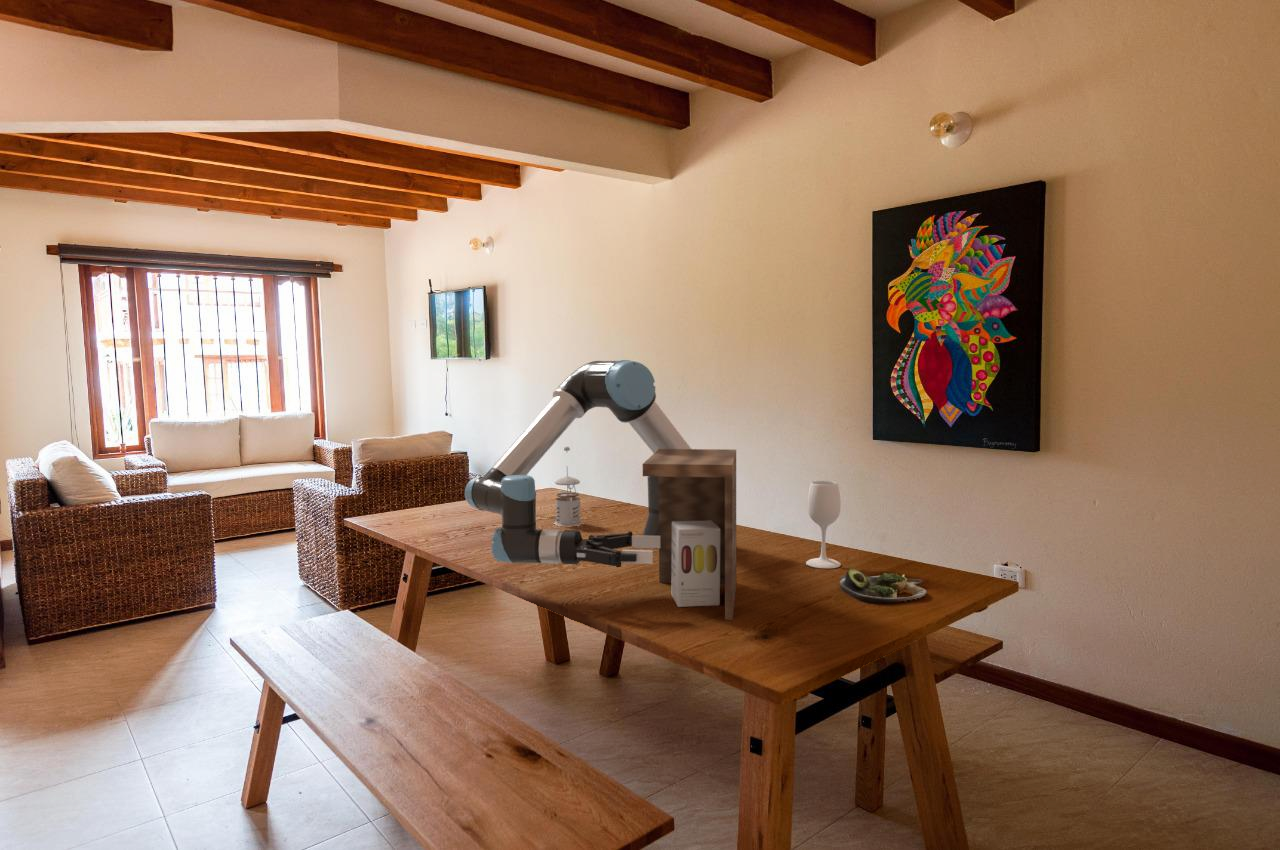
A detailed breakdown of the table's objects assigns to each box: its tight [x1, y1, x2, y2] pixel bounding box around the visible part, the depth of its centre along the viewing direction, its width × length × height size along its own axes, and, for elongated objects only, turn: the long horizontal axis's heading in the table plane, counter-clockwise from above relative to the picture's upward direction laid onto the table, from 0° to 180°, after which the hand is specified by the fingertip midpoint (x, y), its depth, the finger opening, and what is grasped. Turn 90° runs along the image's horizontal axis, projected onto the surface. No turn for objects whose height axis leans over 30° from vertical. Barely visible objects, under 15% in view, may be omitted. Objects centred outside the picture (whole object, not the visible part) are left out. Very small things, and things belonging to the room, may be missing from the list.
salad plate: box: [839, 568, 928, 604], centre depth 175 cm, size 19×18×5 cm
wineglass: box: [805, 480, 842, 570], centre depth 197 cm, size 9×9×21 cm
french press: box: [553, 446, 584, 527], centre depth 249 cm, size 10×12×25 cm
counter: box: [642, 448, 737, 621], centre depth 169 cm, size 18×26×32 cm
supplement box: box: [670, 520, 721, 608], centre depth 169 cm, size 10×9×17 cm
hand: (657, 549), depth 170 cm, fingers open, 13 cm apart
